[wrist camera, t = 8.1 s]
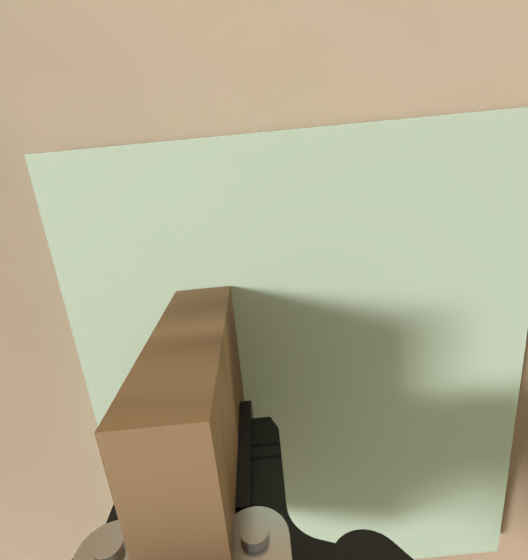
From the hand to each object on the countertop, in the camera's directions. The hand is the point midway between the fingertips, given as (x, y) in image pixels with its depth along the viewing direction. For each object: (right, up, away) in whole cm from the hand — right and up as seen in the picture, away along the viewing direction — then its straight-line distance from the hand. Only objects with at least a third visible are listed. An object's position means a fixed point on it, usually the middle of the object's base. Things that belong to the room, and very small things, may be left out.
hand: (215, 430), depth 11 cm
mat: (+3, +1, +2) cm, 4 cm away
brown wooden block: (0, 0, +1) cm, 1 cm away
